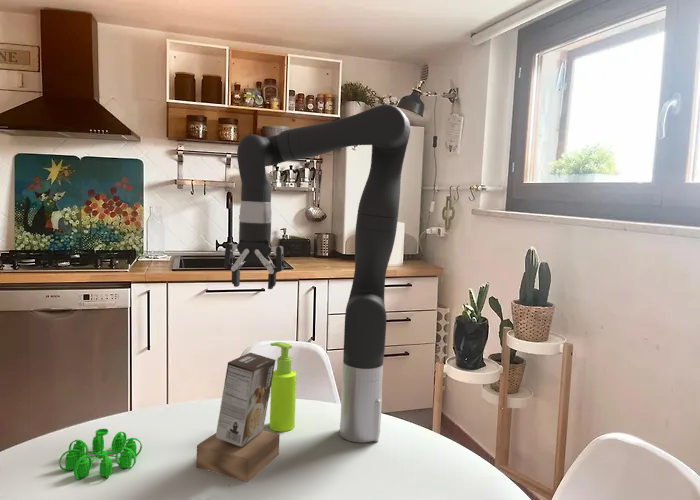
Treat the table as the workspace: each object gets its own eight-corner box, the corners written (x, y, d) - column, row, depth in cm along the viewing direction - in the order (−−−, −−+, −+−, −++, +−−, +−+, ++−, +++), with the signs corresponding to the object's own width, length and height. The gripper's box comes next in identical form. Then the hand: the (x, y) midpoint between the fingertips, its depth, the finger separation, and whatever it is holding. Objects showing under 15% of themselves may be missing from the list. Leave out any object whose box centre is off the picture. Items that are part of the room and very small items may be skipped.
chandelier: (40, 477, 101) (40, 442, 100) (94, 442, 116) (94, 411, 115) (110, 490, 98) (110, 454, 97) (157, 452, 112) (157, 421, 112)
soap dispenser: (278, 417, 132) (281, 338, 130) (299, 425, 128) (302, 344, 126) (261, 425, 127) (263, 343, 125) (282, 434, 123) (285, 349, 121)
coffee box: (237, 422, 116) (250, 351, 114) (263, 431, 114) (276, 359, 112) (214, 437, 107) (227, 361, 105) (241, 448, 105) (255, 370, 103)
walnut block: (278, 456, 113) (279, 434, 113) (247, 483, 102) (248, 459, 102) (231, 444, 118) (231, 422, 117) (196, 469, 107) (196, 445, 106)
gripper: (288, 221, 130) (286, 287, 132) (232, 218, 132) (230, 283, 134) (280, 223, 123) (277, 292, 125) (221, 219, 125) (219, 288, 127)
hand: (253, 287), depth 129 cm, fingers open, 8 cm apart
